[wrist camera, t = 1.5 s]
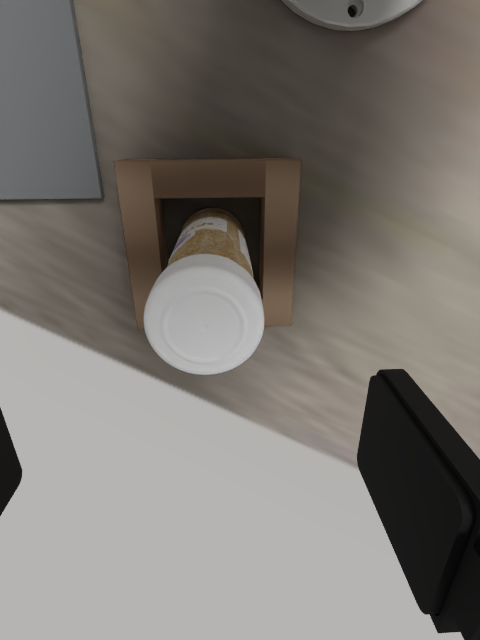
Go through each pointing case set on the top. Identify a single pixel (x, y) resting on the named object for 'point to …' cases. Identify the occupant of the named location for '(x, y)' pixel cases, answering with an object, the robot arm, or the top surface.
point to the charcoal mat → (44, 105)
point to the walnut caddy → (212, 182)
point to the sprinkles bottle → (206, 298)
